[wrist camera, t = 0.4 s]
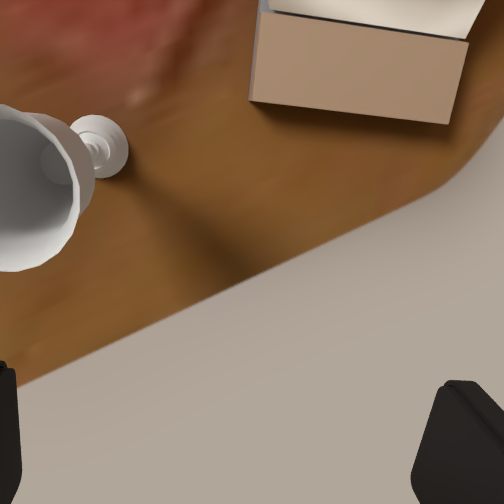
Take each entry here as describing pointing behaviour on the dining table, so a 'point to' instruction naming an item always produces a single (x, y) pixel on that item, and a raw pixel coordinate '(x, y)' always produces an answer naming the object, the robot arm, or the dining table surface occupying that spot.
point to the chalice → (49, 180)
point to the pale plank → (393, 13)
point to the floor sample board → (354, 67)
